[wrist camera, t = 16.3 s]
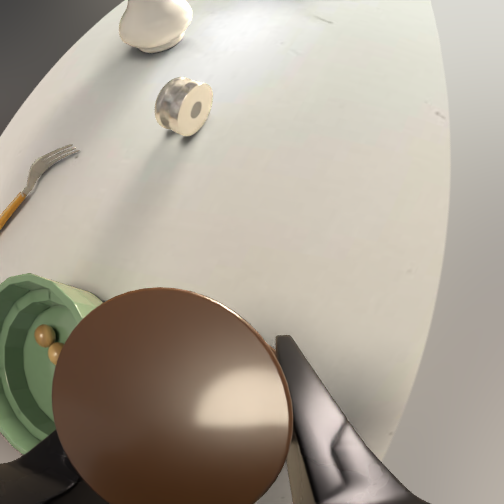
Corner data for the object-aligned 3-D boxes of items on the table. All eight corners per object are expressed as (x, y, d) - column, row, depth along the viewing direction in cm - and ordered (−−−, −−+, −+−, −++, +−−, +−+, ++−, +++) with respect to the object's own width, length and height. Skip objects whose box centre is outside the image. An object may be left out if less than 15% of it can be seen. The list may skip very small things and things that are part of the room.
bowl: (158, 451, 19) (128, 481, 13) (31, 435, 19) (-9, 447, 14) (131, 277, 23) (93, 259, 17) (12, 295, 23) (-30, 285, 17)
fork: (-36, 276, 22) (71, 142, 24) (-41, 263, 22) (63, 131, 24) (-23, 276, 25) (81, 151, 27) (-28, 264, 25) (73, 141, 27)
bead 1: (59, 350, 21) (39, 354, 20) (54, 332, 22) (34, 336, 21) (56, 335, 20) (34, 339, 19) (51, 317, 21) (30, 321, 20)
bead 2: (52, 357, 21) (69, 347, 22) (58, 374, 20) (77, 364, 21) (41, 343, 19) (60, 333, 20) (47, 362, 18) (67, 351, 19)
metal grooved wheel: (185, 146, 26) (171, 111, 21) (161, 136, 26) (144, 102, 21) (216, 109, 27) (208, 72, 22) (191, 100, 27) (180, 64, 22)
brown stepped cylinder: (292, 424, 13) (363, 540, 2) (203, 435, 13) (52, 533, 2) (278, 340, 15) (305, 217, 4) (192, 352, 15) (25, 267, 4)
